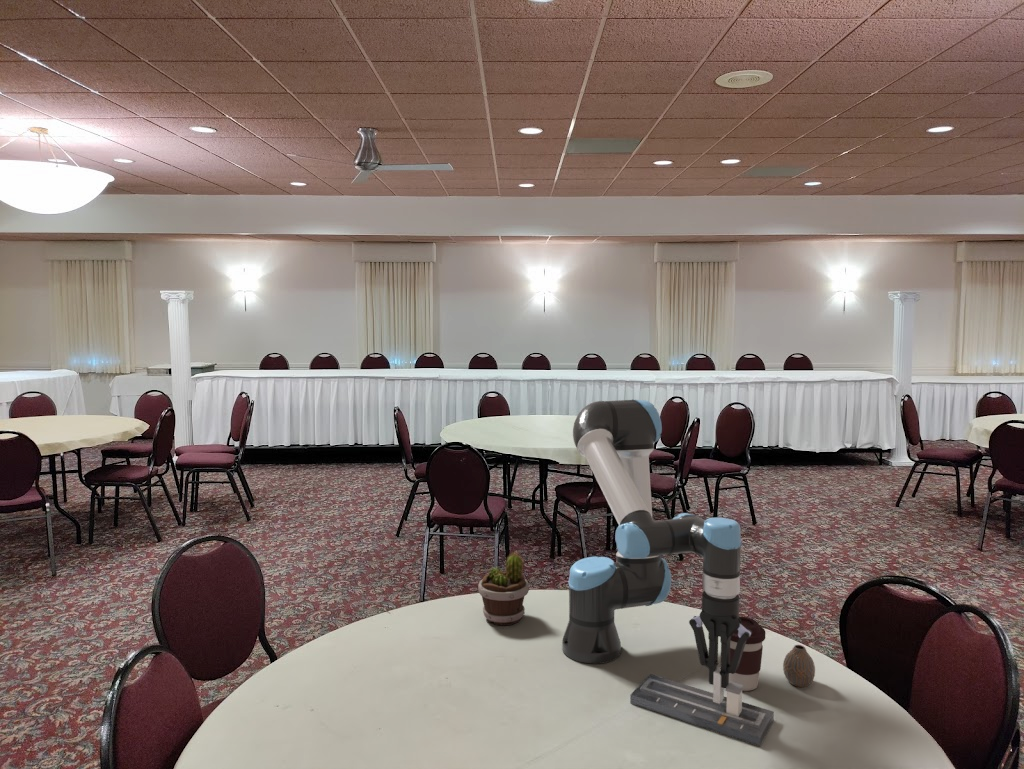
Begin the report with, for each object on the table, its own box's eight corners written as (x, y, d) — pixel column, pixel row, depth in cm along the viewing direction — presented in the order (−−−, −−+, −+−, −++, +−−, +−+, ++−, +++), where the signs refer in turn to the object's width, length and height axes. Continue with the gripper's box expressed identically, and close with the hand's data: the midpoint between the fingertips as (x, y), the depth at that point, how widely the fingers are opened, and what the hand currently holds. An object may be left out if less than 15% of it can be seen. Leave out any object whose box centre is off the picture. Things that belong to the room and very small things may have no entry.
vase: (817, 692, 155) (818, 655, 154) (785, 688, 156) (786, 652, 156) (810, 676, 162) (811, 641, 161) (780, 674, 163) (781, 639, 162)
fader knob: (725, 713, 142) (725, 688, 142) (729, 706, 145) (730, 681, 144) (738, 717, 141) (739, 692, 140) (742, 710, 143) (743, 685, 143)
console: (630, 703, 150) (630, 692, 150) (650, 682, 160) (650, 671, 159) (759, 747, 135) (760, 734, 134) (773, 720, 144) (774, 708, 143)
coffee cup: (763, 676, 162) (765, 616, 161) (764, 698, 152) (766, 633, 151) (720, 670, 165) (721, 610, 164) (718, 690, 156) (720, 627, 155)
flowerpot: (483, 632, 186) (482, 561, 184) (474, 609, 201) (474, 544, 199) (534, 627, 189) (534, 557, 187) (522, 605, 204) (522, 541, 202)
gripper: (684, 591, 143) (682, 698, 145) (747, 605, 136) (744, 718, 138) (696, 580, 149) (694, 683, 151) (757, 593, 142) (754, 701, 144)
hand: (718, 699), depth 144 cm, fingers closed
